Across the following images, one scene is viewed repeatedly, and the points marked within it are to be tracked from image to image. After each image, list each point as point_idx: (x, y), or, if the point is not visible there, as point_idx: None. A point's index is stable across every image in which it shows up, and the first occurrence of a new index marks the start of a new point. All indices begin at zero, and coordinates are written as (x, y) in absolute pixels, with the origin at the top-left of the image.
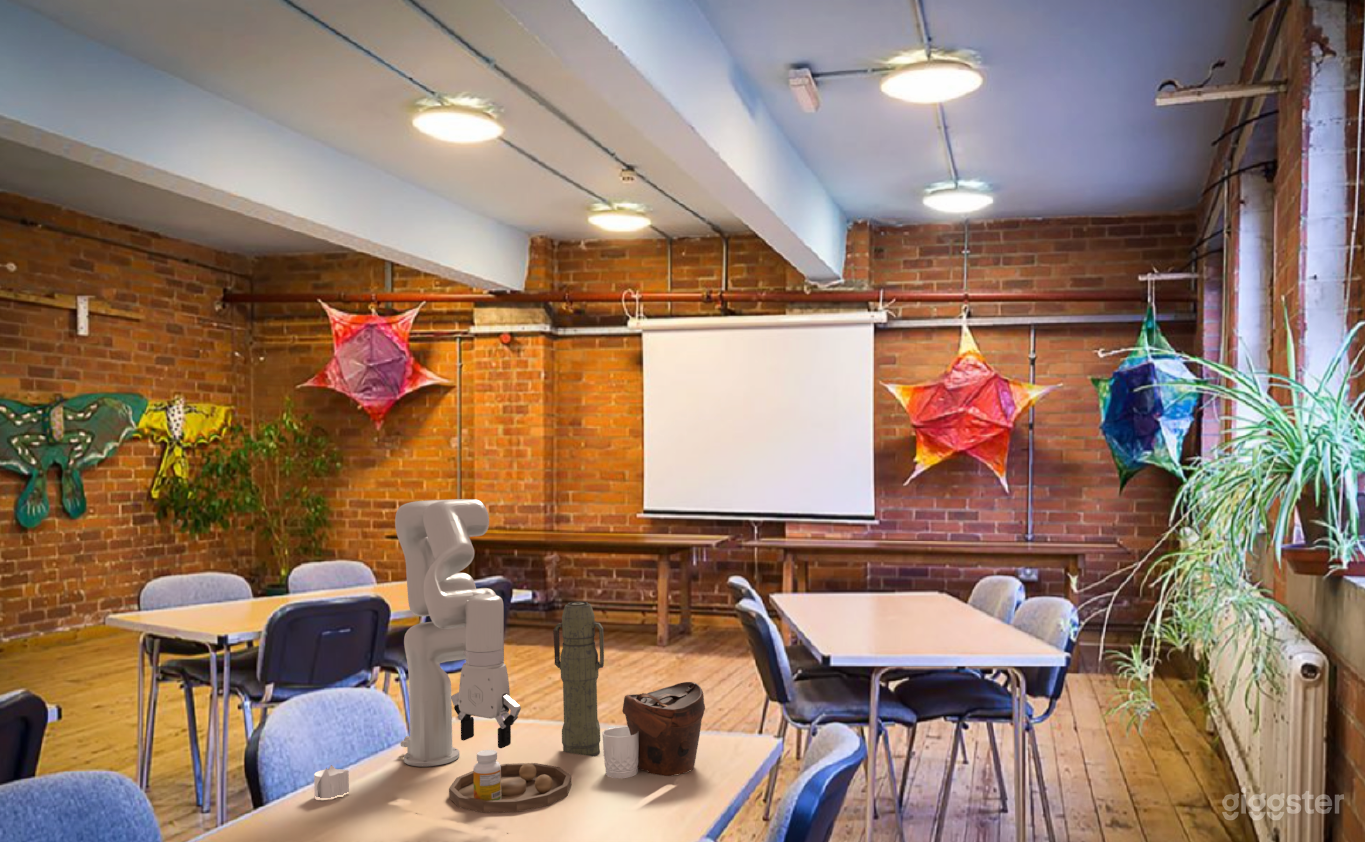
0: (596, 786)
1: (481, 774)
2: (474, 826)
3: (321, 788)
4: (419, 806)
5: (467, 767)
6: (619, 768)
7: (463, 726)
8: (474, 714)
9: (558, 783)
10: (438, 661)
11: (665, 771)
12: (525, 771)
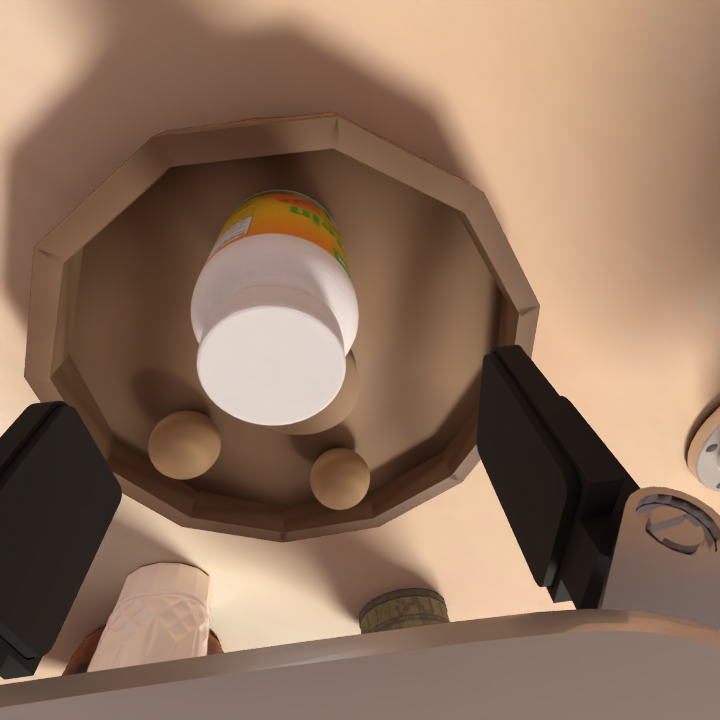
0: (168, 532)
1: (235, 240)
2: (114, 14)
3: None
4: (569, 73)
5: (621, 439)
6: (119, 611)
7: (546, 439)
8: (237, 687)
9: (231, 487)
10: None
11: (81, 646)
12: (326, 470)
